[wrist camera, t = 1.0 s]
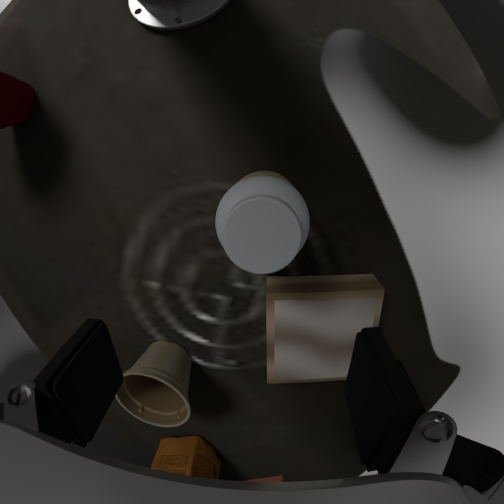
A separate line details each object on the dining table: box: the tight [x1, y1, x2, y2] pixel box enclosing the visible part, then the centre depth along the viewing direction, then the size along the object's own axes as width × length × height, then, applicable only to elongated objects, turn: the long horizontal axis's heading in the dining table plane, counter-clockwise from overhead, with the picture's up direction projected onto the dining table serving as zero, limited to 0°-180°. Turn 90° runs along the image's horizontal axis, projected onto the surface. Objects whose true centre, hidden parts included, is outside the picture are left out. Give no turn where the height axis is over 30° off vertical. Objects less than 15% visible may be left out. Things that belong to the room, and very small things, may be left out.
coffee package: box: [151, 436, 221, 479], centre depth 34 cm, size 10×12×22 cm
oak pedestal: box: [266, 274, 385, 383], centre depth 31 cm, size 12×12×4 cm
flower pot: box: [115, 341, 191, 427], centre depth 32 cm, size 9×9×9 cm
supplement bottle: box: [216, 171, 310, 274], centre depth 23 cm, size 7×7×13 cm
